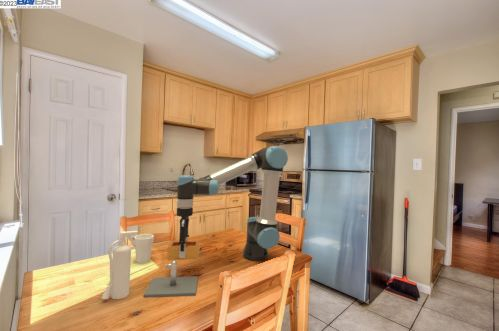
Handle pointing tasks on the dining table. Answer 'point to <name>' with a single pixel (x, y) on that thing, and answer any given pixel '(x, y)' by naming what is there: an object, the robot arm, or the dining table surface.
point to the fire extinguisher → (120, 267)
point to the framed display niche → (190, 252)
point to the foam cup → (143, 247)
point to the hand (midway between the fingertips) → (183, 253)
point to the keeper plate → (171, 287)
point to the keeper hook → (172, 272)
